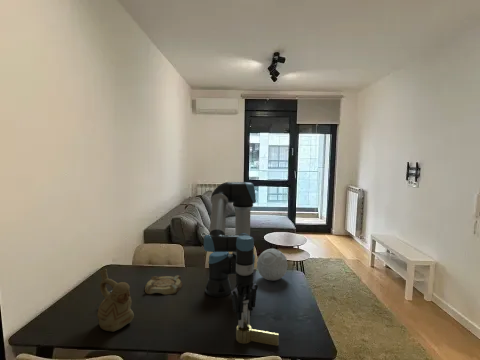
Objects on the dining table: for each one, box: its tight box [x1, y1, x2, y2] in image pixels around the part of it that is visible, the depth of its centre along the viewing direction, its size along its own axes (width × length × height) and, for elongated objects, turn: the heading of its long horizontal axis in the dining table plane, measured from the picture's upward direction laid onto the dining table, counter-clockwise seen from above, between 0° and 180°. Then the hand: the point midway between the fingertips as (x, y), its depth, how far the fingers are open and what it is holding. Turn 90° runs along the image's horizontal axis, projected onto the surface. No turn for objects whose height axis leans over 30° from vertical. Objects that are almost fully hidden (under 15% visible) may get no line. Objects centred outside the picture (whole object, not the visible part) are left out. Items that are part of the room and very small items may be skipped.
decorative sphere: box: [256, 248, 289, 282], centre depth 195 cm, size 20×20×20 cm
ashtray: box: [144, 274, 183, 296], centre depth 182 cm, size 24×24×5 cm
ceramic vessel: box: [96, 268, 135, 333], centre depth 141 cm, size 17×20×25 cm
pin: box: [242, 297, 249, 328], centre depth 131 cm, size 4×4×12 cm
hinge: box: [235, 324, 279, 347], centre depth 134 cm, size 21×18×5 cm
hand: (243, 324), depth 131 cm, fingers closed on pin, 3 cm apart
